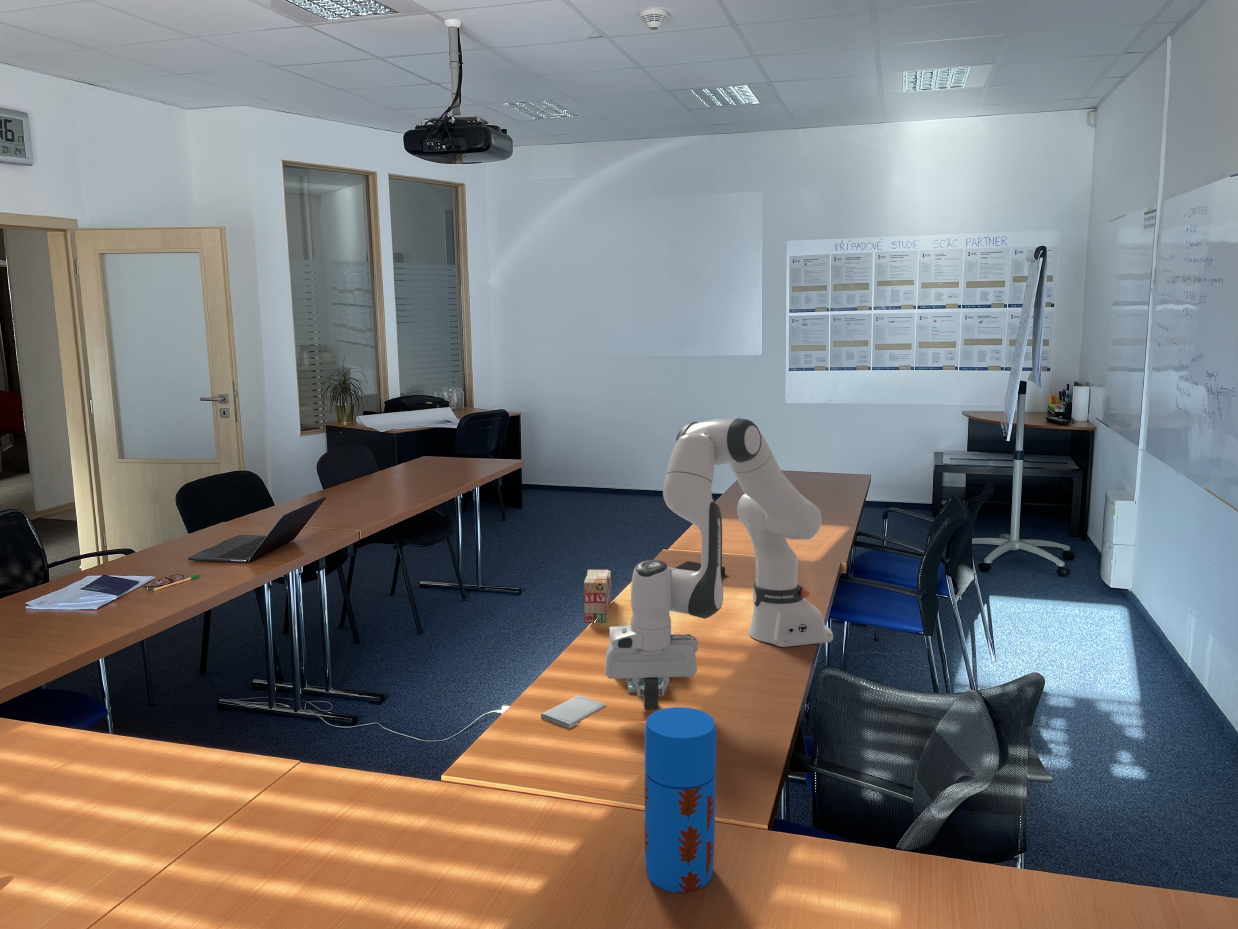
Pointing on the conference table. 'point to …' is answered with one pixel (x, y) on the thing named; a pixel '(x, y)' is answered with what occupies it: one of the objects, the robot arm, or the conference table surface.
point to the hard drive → (572, 711)
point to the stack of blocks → (597, 596)
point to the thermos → (680, 798)
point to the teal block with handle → (647, 690)
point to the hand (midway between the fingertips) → (650, 694)
